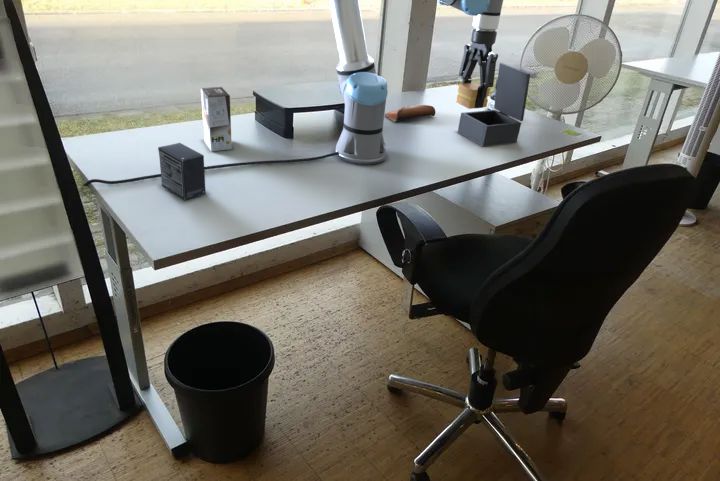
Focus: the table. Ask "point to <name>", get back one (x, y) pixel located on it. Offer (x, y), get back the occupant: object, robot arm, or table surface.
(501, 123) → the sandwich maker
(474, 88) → the toast sandwich
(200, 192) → the small box
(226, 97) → the coffee box
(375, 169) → the table surface
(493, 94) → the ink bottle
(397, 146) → the table surface
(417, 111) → the sunglasses case
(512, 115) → the grill lid
